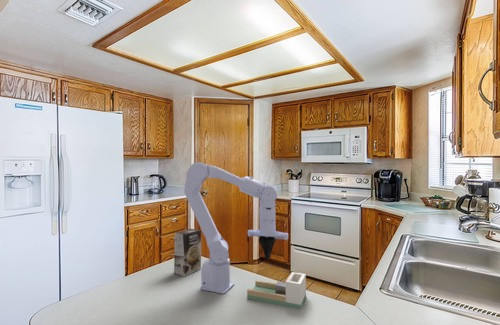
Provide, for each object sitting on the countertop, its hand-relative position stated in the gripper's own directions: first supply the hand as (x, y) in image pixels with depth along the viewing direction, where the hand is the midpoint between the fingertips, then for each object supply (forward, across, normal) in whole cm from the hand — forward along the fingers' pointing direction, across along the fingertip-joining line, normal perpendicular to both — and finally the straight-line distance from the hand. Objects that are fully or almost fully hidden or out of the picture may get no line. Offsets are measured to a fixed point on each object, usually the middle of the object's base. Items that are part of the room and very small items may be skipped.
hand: (267, 258), depth 92 cm
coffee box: (+10, +34, 0) cm, 35 cm away
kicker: (+8, -8, +7) cm, 13 cm away
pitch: (+9, -6, +8) cm, 13 cm away
